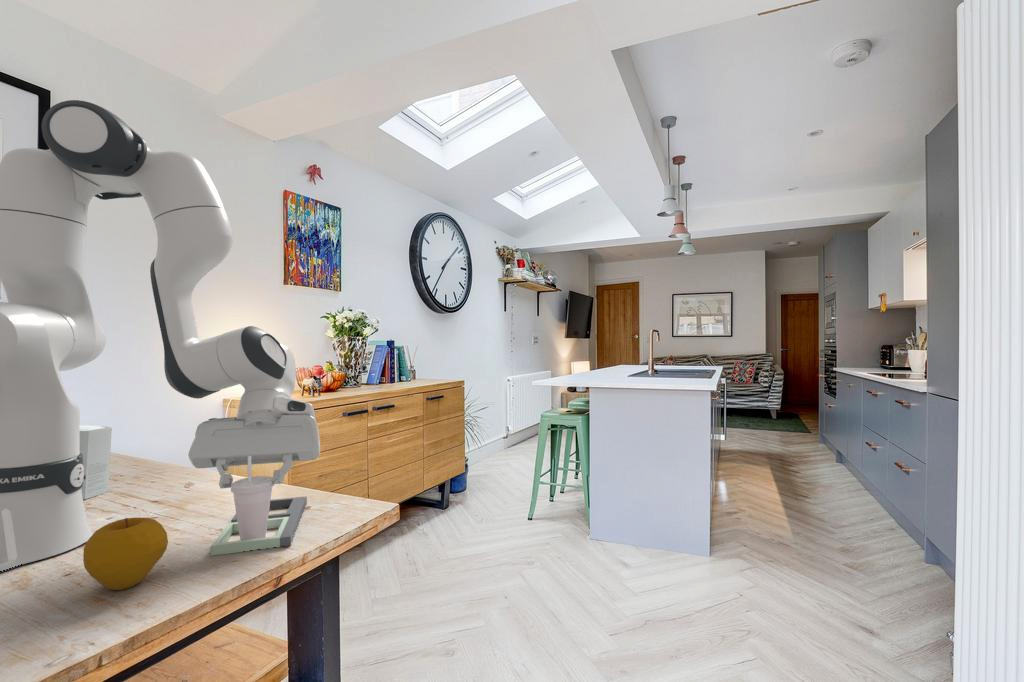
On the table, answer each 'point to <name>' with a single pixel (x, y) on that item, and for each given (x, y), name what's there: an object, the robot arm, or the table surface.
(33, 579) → the table surface
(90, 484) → the skincare box
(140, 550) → the apple
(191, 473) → the table surface
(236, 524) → the rail
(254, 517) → the smoothie
